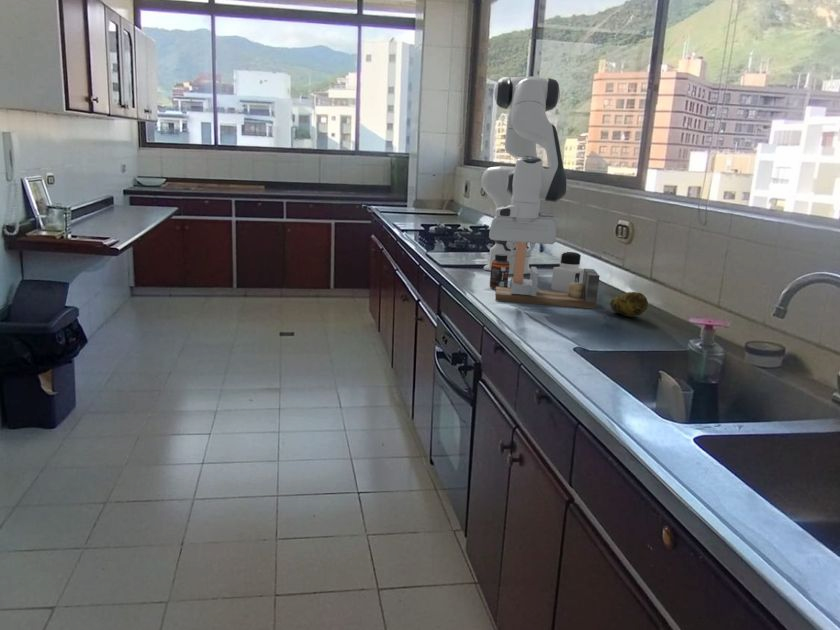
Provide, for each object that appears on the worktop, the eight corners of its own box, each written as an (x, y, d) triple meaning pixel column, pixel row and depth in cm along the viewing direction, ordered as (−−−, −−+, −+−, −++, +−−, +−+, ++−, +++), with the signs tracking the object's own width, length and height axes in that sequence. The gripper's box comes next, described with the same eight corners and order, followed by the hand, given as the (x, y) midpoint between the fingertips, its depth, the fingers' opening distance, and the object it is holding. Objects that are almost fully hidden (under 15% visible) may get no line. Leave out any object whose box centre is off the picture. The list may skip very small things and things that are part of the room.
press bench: (495, 292, 217) (498, 261, 214) (589, 300, 214) (593, 269, 212) (495, 300, 205) (498, 268, 203) (595, 308, 203) (599, 275, 200)
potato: (634, 312, 200) (638, 286, 199) (648, 323, 188) (653, 295, 186) (607, 311, 200) (610, 284, 198) (619, 321, 188) (623, 293, 186)
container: (582, 291, 228) (587, 253, 224) (570, 294, 222) (575, 255, 219) (562, 287, 233) (566, 250, 229) (550, 289, 227) (554, 251, 224)
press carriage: (509, 286, 216) (514, 233, 212) (533, 288, 215) (539, 235, 211) (510, 294, 204) (516, 238, 200) (536, 296, 204) (542, 240, 200)
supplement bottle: (506, 290, 221) (509, 256, 218) (488, 288, 222) (491, 254, 219) (507, 287, 227) (511, 254, 224) (490, 285, 228) (493, 252, 225)
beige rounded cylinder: (567, 294, 211) (568, 282, 210) (581, 295, 210) (583, 283, 209) (568, 297, 206) (570, 284, 205) (583, 298, 206) (585, 285, 205)
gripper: (558, 212, 206) (553, 257, 209) (491, 208, 208) (487, 252, 211) (560, 214, 200) (555, 260, 203) (491, 209, 202) (487, 255, 205)
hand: (520, 256), depth 207 cm, fingers closed on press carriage, 3 cm apart
